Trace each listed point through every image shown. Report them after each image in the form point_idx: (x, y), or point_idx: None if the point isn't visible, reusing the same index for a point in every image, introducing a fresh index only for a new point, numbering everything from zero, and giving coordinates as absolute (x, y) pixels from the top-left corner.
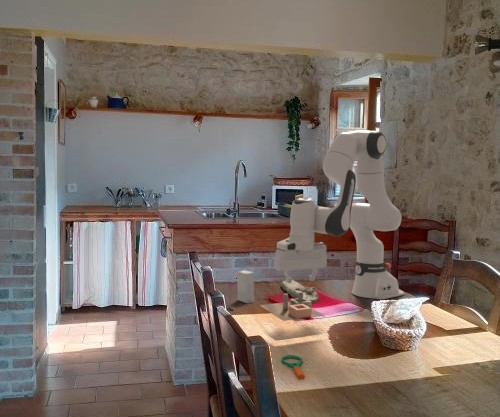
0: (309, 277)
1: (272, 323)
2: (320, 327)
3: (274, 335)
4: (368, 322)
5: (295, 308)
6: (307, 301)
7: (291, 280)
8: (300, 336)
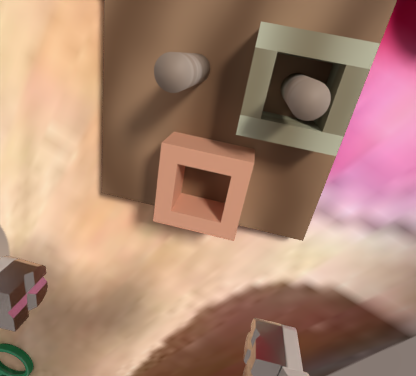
0: (252, 347)
1: (78, 149)
2: (211, 276)
3: (35, 242)
4: (404, 338)
5: (162, 199)
6: (317, 138)
7: (30, 309)
8: (103, 288)
